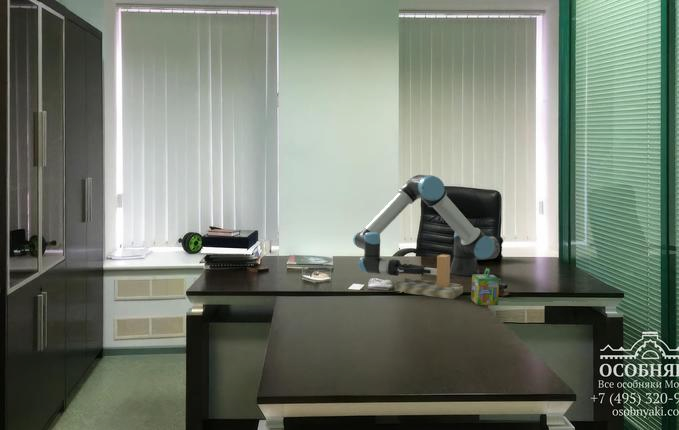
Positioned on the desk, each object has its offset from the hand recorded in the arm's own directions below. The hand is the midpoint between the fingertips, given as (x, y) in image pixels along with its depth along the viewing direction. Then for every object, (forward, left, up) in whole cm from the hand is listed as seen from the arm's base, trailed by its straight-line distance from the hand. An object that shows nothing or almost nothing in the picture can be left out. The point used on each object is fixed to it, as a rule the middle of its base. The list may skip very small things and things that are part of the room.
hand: (438, 272), depth 262 cm
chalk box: (-12, +20, -10) cm, 26 cm away
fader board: (+3, -4, -10) cm, 11 cm away
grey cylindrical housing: (-59, -71, -10) cm, 93 cm away
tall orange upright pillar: (-2, +1, -6) cm, 7 cm away
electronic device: (-25, +9, -10) cm, 28 cm away
